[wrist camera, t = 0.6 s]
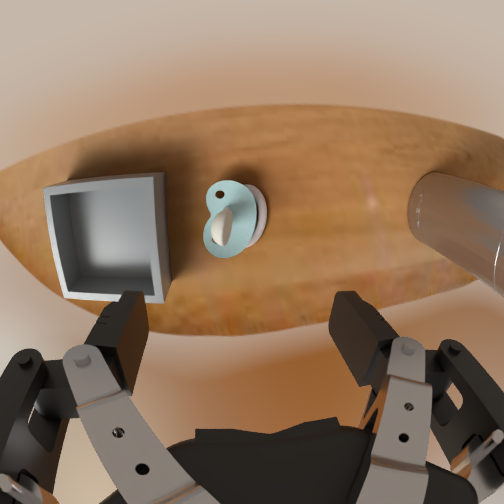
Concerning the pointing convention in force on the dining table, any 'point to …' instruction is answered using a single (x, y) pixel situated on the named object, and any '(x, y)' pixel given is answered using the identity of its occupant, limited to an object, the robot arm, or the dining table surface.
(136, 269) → the bin
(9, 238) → the dining table surface
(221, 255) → the pacifier
